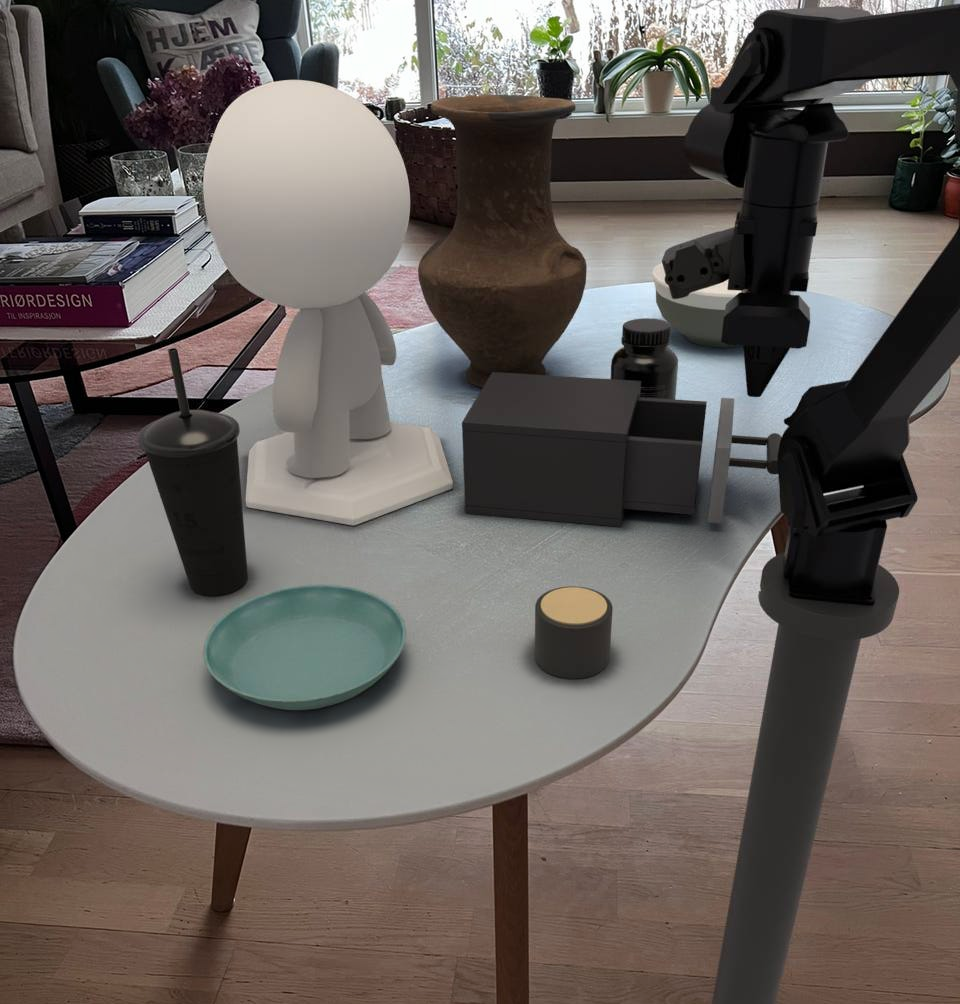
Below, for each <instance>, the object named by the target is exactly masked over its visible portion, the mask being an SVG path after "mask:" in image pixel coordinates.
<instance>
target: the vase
mask: <svg viewBox="0 0 960 1004" xmlns="http://www.w3.org/2000/svg"><path fill="white" fill-rule="evenodd" d="M430 109H431V110H430V111H431V113H432V114H433V115H436V116H438V117H441V118H444V119H445V120H447V121H449V122H450V123H451V125H452V126H453V129H454V131H455V142H456V143H455V144H456V147H455V149H456V151H455V152H456V178H457V210H456V211H457V212H456V218H455V221H454V225H453V227H452V230H451V231H450V233H449V234H448V235H447V236H443V237H441V238H440V239H438V240H437V241H436V242H434V243H433V244H432V245H431V246H430V247H429V248H428V249H427V250H426V251H425V253H424V254H423V255H422V257H421V259H420V261H419V263H418V268H417V277H418V282H419V283H418V284H419V285H420V290H421V292H422V295H423V298H424V301H425V304H426V305H427V307H428V309H429V311H430V313H431V315H432V316H433V317H434V319H435V320H436V321H437V323H438V325H439V326H440V328H441V329H442V330H443V331H444V333H445V334H446V335H448V337H449V338H450V339H451V341H453V342H454V343H455V345H456V346H457V347H458V348H459V349H460V350H461V351H462V352H463V354H464V355H465V356H466V357H467V359H468V360H469V362H470V363H469V366H468V368H467V369H466V370H465V372H464V379H465V380H466V381H467V382H468V383H470V384H471V385H473V386H475V387H479V388H483V387H484V385H485V383H486V382H487V380H488V378H489V377H490V375H491V373H492V372H499V373H516V374H532V375H547V370H546V369H547V368H546V366H545V365H544V363H543V361H544V359H545V358H546V355H547V354H549V352H550V351H551V350H552V348H553V347H554V346H555V344H556V343H558V341H559V340H560V339H561V337H562V335H563V334H564V333H565V331H566V330H567V328H568V327H569V325H570V323H571V322H572V320H573V318H574V317H575V314H576V312H577V311H578V309H579V307H580V304H581V301H582V299H583V295H584V292H585V288H586V284H587V271H588V270H587V267H588V266H587V260H586V259H585V257H584V254H583V253H582V252H581V251H580V250H579V249H578V248H577V247H574V246H572V245H571V244H569V242H567V241H566V239H565V238H564V237H563V236H562V234H561V233H560V232H559V229H558V227H557V225H556V223H555V218H554V212H553V205H552V204H553V202H552V191H551V175H552V174H551V173H552V145H553V133H554V128H555V127H554V126H555V124H556V122H557V120H559V119H560V118H561V117H564V116H567V115H569V114H571V113H573V112H575V111H576V103H575V102H573V100H570V99H564V98H559V97H558V98H556V97H545V96H544V97H543V96H534V95H515V94H494V93H493V94H491V93H490V94H489V93H485V94H481V95H474V94H468V95H465V96H446V97H442V98H439V99H436V100H434V101H433V102H431V104H430Z"/></svg>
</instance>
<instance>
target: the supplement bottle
mask: <svg viewBox="0 0 960 1004" xmlns="http://www.w3.org/2000/svg"><path fill="white" fill-rule="evenodd" d="M671 331H672V326H671V325H670V324H669V323H668V322H667V321H666V320H664V319H663V320H662V319H658V318H644V317H643V318H634V319H630V320H627V321H625V322H624V323H623V324H622V332H621V333H622V334H621V339H620V343H621V345H622V347H620V348H619V349H617V350H616V352H614V354H613V356H612V357H611V361H610V363H611V364H610V379H615V380H632V381H641V389H640V390H641V391H640V397H644V398H660V399H676V400H677V384H678V374H679V373H678V370H679V358H678V356H677V355H676V353H675V351H674V350H672V349H671V348H669V346H670V345H671V333H672V332H671Z"/></svg>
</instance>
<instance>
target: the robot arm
mask: <svg viewBox="0 0 960 1004" xmlns="http://www.w3.org/2000/svg"><path fill="white" fill-rule="evenodd" d="M752 25H753V28H752V30H751V31H750V32H749V33H748V34H747V35H746V37H745V38H744V40H743V43H742V44H741V46H740V49H739V51H738V53H737V54H736V57H735V59H734V61H733V63H732V65H731V67H730V69H729V72H728V73H727V75H726V77H725V78H724V80H723V81H722V83H721V84H720V86H713V87H711V89H710V96H709V103H707V104H706V105H705V106H704V107H702V108H701V109H700V110H699V111H698V112H697V113H696V115H695V116H694V117H693V119H692V121H691V123H690V125H689V126H688V130H687V132H686V133H685V135H684V141H683V146H684V147H683V149H684V155H685V159H686V162H687V163H688V166H689V167H690V168H691V170H693V171H694V172H695V173H696V174H698V175H700V176H702V177H705V178H709V179H711V180H714V181H717V182H720V183H724V184H726V185H728V186H732V187H735V188H738V189H742V197H741V205H740V210H737V211H736V216H735V221H734V226H733V227H730V228H727V229H724V230H719V231H715V232H711V233H708V234H705V235H702V236H699V237H696V238H692V239H690V240H686V241H684V242H681V243H678V244H676V245H672V246H670V247H669V248H667V249H666V250H665V251H664V253H663V256H662V259H661V263H662V264H663V268H664V271H665V283H666V284H667V285H668V286H669V289H670V293H671V297H672V298H673V299H679V298H683V297H687V296H688V295H689V294H690V293H691V292H694V291H697V290H701V289H704V288H707V287H710V286H714V285H717V284H720V283H722V282H725V281H726V280H728V288H727V290H739V291H741V293H738V294H737V295H736V296H735V297H734V298H733V299H731V300H730V301H729V302H728V303H727V304H726V307H725V313H724V319H723V328H722V337H721V342H723V343H726V344H728V345H740V346H742V350H743V359H744V360H743V361H744V371H745V372H744V373H745V382H746V395H747V396H748V397H750V398H760V397H762V395H763V394H764V392H765V390H766V389H767V387H768V386H769V383H770V382H771V380H772V379H773V377H774V375H775V374H776V372H777V371H778V369H779V367H780V366H781V364H782V362H783V361H784V359H785V358H786V356H787V354H788V352H789V351H790V350H791V349H802V348H807V345H808V339H809V332H810V326H811V307H810V306H809V305H808V304H807V303H806V302H805V301H804V299H803V298H802V297H801V295H800V294H793V295H791V291H795V292H799V293H800V292H801V293H807V292H808V286H809V279H810V277H809V275H810V274H809V269H810V263H811V257H812V249H813V244H814V243H813V242H814V237H816V235H817V229H818V211H819V204H820V197H821V191H822V183H823V180H824V179H823V178H824V172H825V164H826V159H827V153H828V152H827V151H828V147H829V143H832V142H842V141H846V140H848V138H849V129H848V127H847V126H846V124H845V122H844V120H842V119H841V118H840V117H839V116H838V114H837V113H836V111H835V107H834V104H833V103H832V102H822V101H823V100H824V99H828V98H829V99H830V98H834V97H838V96H840V95H844V94H846V93H849V92H853V91H855V90H858V89H860V88H862V87H863V86H864V85H865V84H866V83H868V82H871V81H874V80H884V79H886V80H888V79H905V78H922V77H939V76H940V77H941V76H950V78H951V80H952V81H953V84H954V85H955V87H956V102H955V103H956V105H955V119H954V134H955V137H956V139H957V142H958V144H960V3H954V4H947V5H940V6H931V7H924V8H916V9H909V10H902V11H893V12H887V13H880V14H879V13H878V14H872V13H871V12H870V11H869V10H865V9H860V8H855V7H851V6H843V5H838V6H837V5H834V6H815V7H797V8H780V9H778V8H777V9H767V10H764V11H762V12H760V13H759V14H758V15H757V16H756V18H755V19H754V20H753V22H752ZM799 108H801V109H802V108H803V109H802V110H801V109H799ZM958 203H959V204H958V205H959V206H958V207H959V208H958V209H959V211H958V227H957V229H956V231H955V233H954V234H953V236H952V237H951V238H950V239H949V241H948V243H947V244H946V246H945V247H944V249H942V251H941V252H940V254H939V255H938V257H937V258H936V259H935V261H934V262H933V264H932V265H931V266H930V268H929V269H928V271H927V272H926V273H925V275H924V276H923V277H922V279H921V280H920V282H919V283H918V284H917V286H916V287H915V289H914V290H913V291H912V292H911V294H910V296H909V297H908V298H907V300H906V301H905V302H904V304H903V306H902V307H901V308H900V309H899V311H898V312H897V314H896V315H895V317H894V318H893V319H892V320H891V322H890V323H889V325H888V326H887V328H886V329H885V330H884V331H883V333H882V335H881V336H880V338H879V339H878V340H877V341H876V343H875V344H874V346H873V347H872V349H871V350H870V351H869V353H868V354H867V355H866V356H865V358H864V360H863V361H862V362H861V364H860V365H859V366H858V368H857V369H856V371H855V372H854V373H853V375H852V377H850V379H847V380H842V381H836V382H830V383H824V384H818V385H812V386H810V387H808V389H807V390H806V391H805V392H804V393H803V394H802V396H801V397H800V400H799V402H798V404H797V407H796V408H795V410H794V411H793V412H792V413H791V415H790V416H788V417H786V418H784V419H783V423H784V425H786V426H787V427H786V428H785V430H784V432H783V434H782V435H781V437H782V438H781V441H780V445H779V450H778V455H777V457H778V474H777V475H778V477H777V478H778V490H779V508H780V512H781V513H782V514H783V515H785V516H786V517H787V526H788V532H787V537H786V543H785V547H784V548H785V549H784V552H785V554H784V560H783V577H784V578H785V579H786V580H788V589H789V596H790V597H792V598H795V599H806V600H816V601H826V602H836V603H846V604H856V605H866V606H872V605H874V603H875V599H876V598H875V592H874V581H875V577H876V572H877V568H878V564H879V563H880V559H881V554H882V551H883V546H884V542H885V538H886V533H887V530H888V524H887V521H888V520H893V519H898V518H899V519H903V518H907V517H908V516H909V514H910V513H911V512H912V510H913V508H914V506H915V505H916V504H917V502H918V500H919V499H918V494H917V491H916V488H915V485H914V483H913V480H912V477H911V474H910V471H909V468H908V466H907V462H906V460H905V457H904V453H905V451H906V449H907V448H908V446H909V444H910V440H911V435H910V417H911V415H912V414H913V412H915V410H916V409H917V408H918V407H919V405H920V404H921V403H922V402H923V400H924V399H926V397H927V396H928V394H929V393H930V392H931V391H932V390H933V388H934V387H936V385H937V384H938V383H939V381H940V380H941V379H942V377H944V375H945V374H946V373H947V372H948V371H949V369H950V368H951V367H952V366H953V364H954V363H955V362H956V361H957V360H958V359H959V357H960V198H959V202H958ZM879 565H880V564H879Z"/></svg>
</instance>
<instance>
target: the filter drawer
mask: <svg viewBox="0 0 960 1004" xmlns="http://www.w3.org/2000/svg"><path fill="white" fill-rule="evenodd" d="M707 404H708V402H707V401H706V400H705V401H704V400H691V399H689V400H688V399H677V398H676V399H660V398H644V397H638V400H637V404H636V408H635V411H634V415H633V419H632V423H631V426H630V430H629V434H628V437H627V449H626V465H625V480H624V496H623V509H625V510H634V511H645V512H656V513H657V512H659V513H670V514H681V515H695V510H696V509H695V508H696V500H697V492H698V483H699V475H700V467H701V459H702V458H701V457H702V449H703V440H704V431H705V424H706V423H705V421H706V414H707V413H706V412H707ZM719 407H720V408H719V415H718V424H717V431H716V432H717V433H716V441H715V447H714V448H715V449H714V458H713V466H712V474H711V485H710V486H711V487H710V496H709V507H708V517H707V523H710V524H722V523H723V514H724V506H725V501H726V500H725V499H726V493H727V492H726V491H727V483H728V476H729V468H730V467H733V468H734V467H735V468H747V469H748V468H749V469H760V470H761V469H762V470H766V471H767V472H768V473H769V474H770V475H773V476H774V475H775V476H776V475H778V457H777V455H778V450H779V445H780V441H781V438H782V435H781V434H779V433H776V432H775V433H770V434H769V435H768V436H767V437H766V436H765V437H763V436H749V435H735V434H733V428H734V427H733V426H734V412H735V398H734V397H733V398H732V397H721V399H720V406H719ZM732 444H736V445H750V446H764V447H766V459H754V458H753V459H752V458H742V457H741V458H740V457H739V458H738V457H731V451H732Z"/></svg>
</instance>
